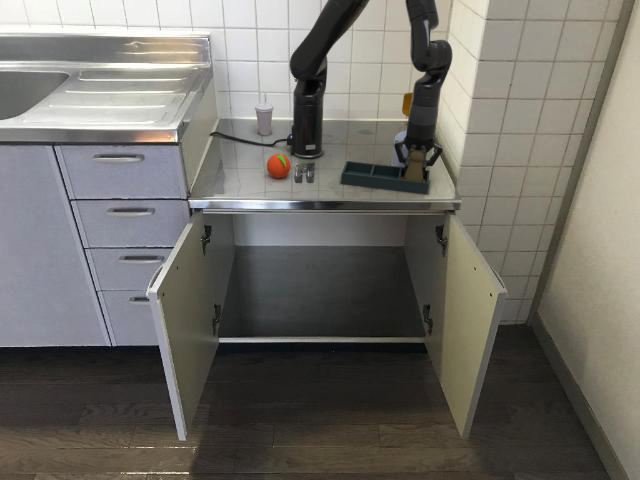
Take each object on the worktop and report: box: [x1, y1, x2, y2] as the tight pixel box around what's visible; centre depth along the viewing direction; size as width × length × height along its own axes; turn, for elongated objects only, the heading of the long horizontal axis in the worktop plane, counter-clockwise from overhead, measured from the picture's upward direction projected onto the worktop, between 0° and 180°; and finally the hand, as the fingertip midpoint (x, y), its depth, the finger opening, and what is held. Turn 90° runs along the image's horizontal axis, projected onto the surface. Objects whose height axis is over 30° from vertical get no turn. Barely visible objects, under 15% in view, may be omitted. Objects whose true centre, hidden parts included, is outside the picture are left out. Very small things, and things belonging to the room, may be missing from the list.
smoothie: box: [254, 92, 275, 136], centre depth 171 cm, size 6×6×14 cm
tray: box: [340, 160, 430, 195], centre depth 146 cm, size 25×9×3 cm, turn 78°
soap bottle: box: [390, 91, 413, 167], centre depth 147 cm, size 9×9×25 cm
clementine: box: [266, 153, 292, 179], centre depth 145 cm, size 8×7×7 cm
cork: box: [403, 150, 428, 182], centre depth 142 cm, size 6×6×11 cm
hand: (413, 176), depth 144 cm, fingers closed on cork, 3 cm apart
